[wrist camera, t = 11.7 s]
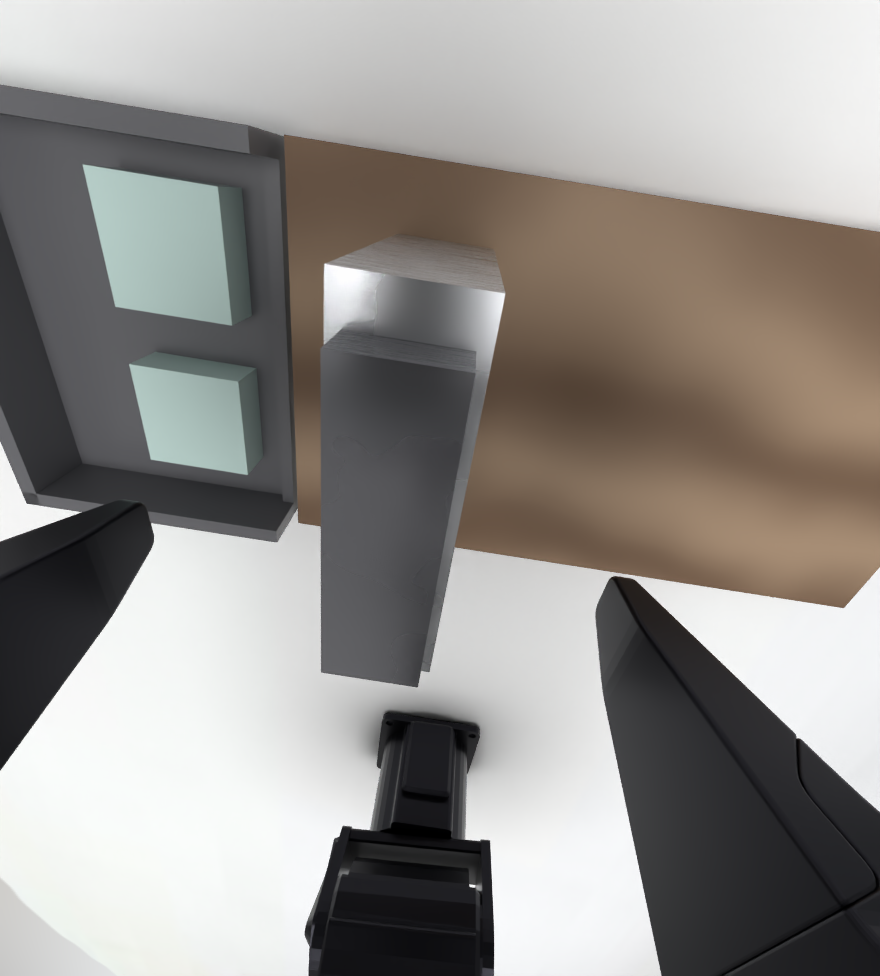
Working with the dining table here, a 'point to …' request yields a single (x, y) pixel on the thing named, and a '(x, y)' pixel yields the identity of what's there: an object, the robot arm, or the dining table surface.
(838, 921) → the robot arm
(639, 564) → the board
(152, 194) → the tile
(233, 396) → the tile
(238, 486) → the tray
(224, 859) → the dining table surface
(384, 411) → the grey block
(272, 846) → the dining table surface
